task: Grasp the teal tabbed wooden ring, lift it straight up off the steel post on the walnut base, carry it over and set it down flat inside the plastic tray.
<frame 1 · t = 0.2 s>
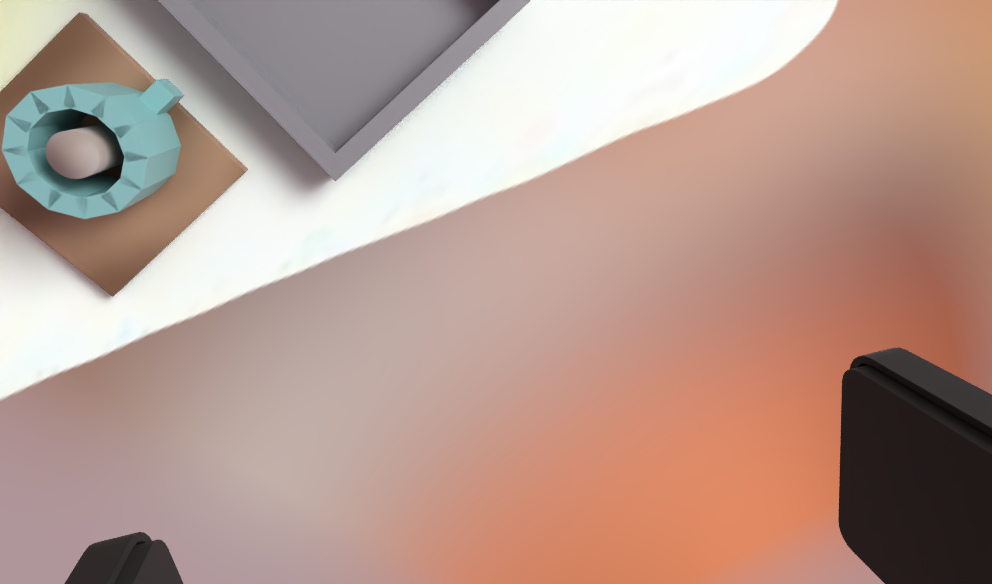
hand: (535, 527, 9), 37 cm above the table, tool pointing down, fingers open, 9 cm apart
ring: (120, 141, 39), point 1 cm above the table, touching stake
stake: (126, 140, 39), on the table
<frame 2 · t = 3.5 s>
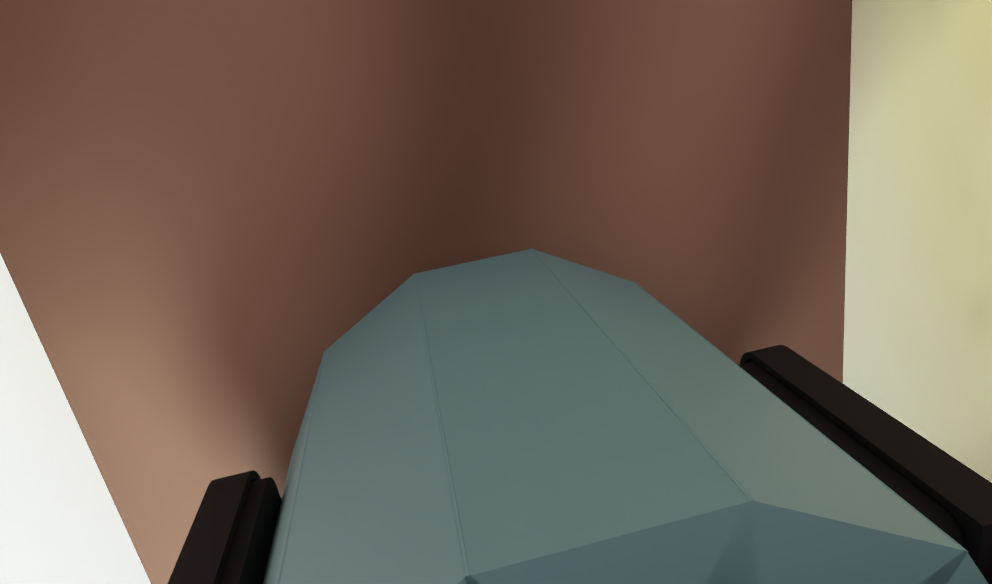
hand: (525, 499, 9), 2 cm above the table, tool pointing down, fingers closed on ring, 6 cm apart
ring: (508, 450, 10), point 1 cm above the table, touching gripper, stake
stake: (498, 419, 11), on the table
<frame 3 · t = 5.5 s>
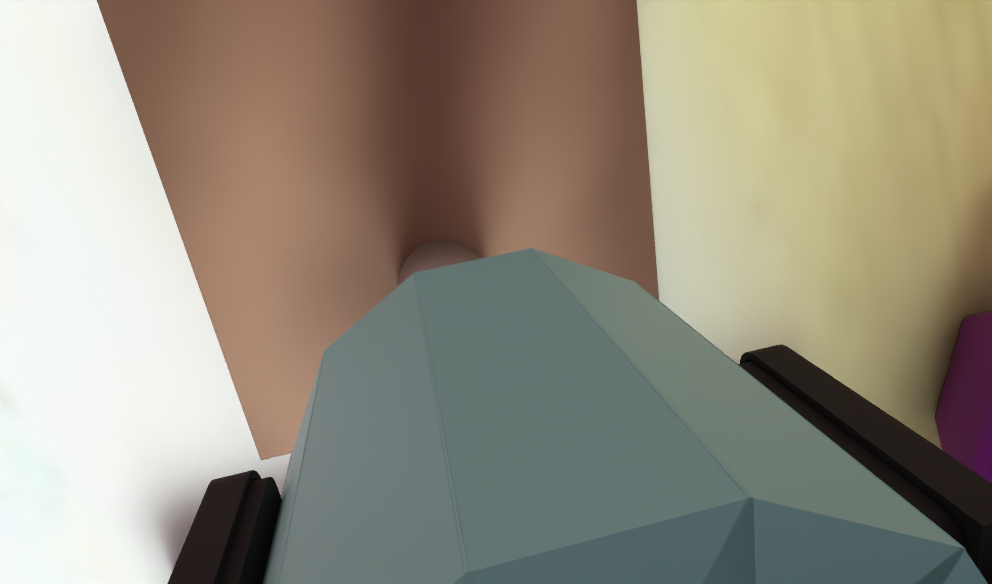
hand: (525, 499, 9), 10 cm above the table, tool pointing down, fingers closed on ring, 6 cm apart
ring: (508, 448, 11), point 8 cm above the table, touching gripper
perfume bottle: (991, 363, 23), on the table
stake: (439, 271, 18), on the table
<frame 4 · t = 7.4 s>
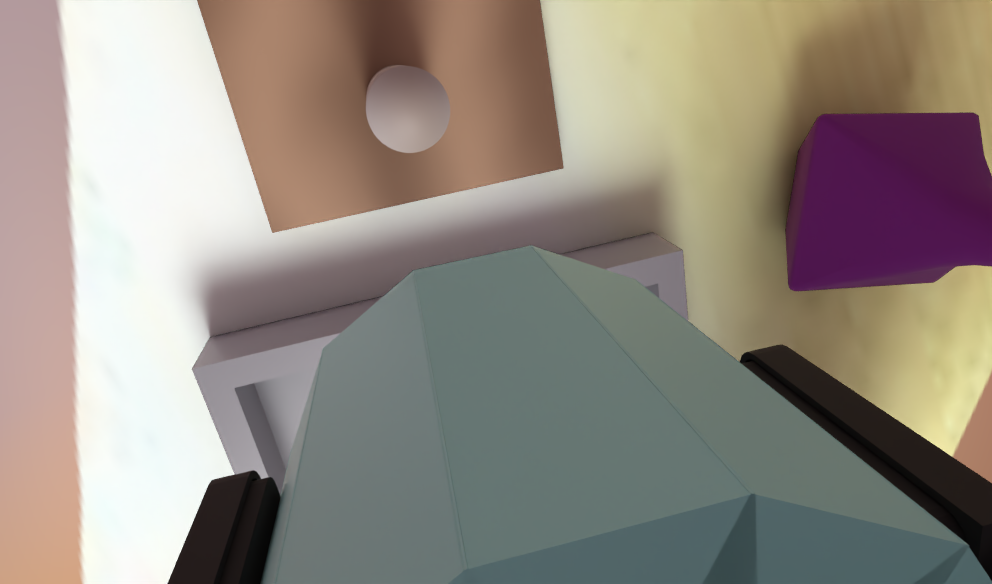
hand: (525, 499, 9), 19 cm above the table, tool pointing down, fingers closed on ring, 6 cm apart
ring: (508, 447, 10), point 18 cm above the table, touching gripper
tray: (474, 433, 31), on the table
perfume bottle: (828, 189, 30), on the table
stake: (397, 96, 25), on the table
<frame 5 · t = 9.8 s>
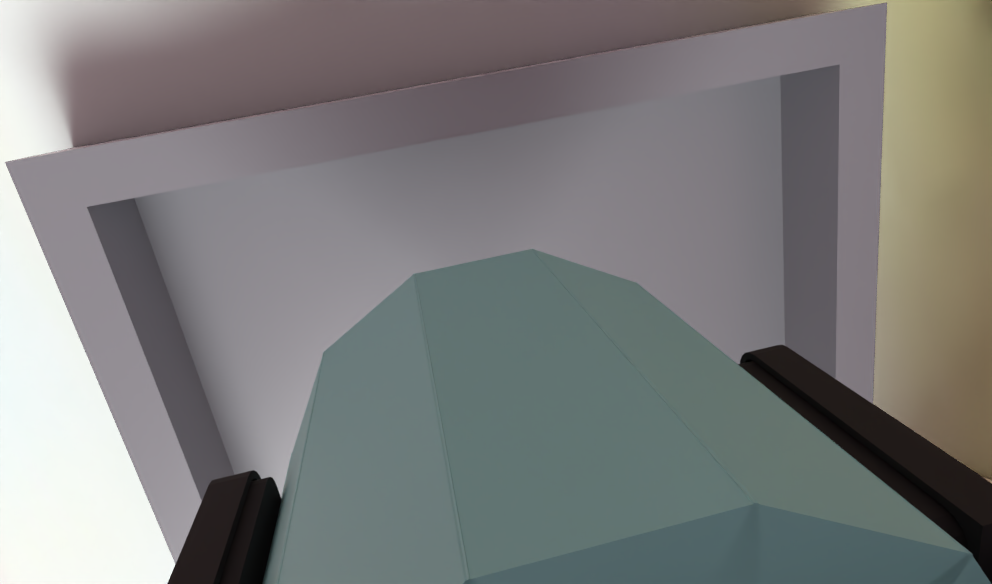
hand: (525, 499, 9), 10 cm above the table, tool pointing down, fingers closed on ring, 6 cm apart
ring: (509, 450, 10), point 9 cm above the table, touching gripper
tray: (509, 347, 20), on the table
when the fingers open (4 cm above the table, at t = 11.5 s): ring drops 2 cm, resting on tray.
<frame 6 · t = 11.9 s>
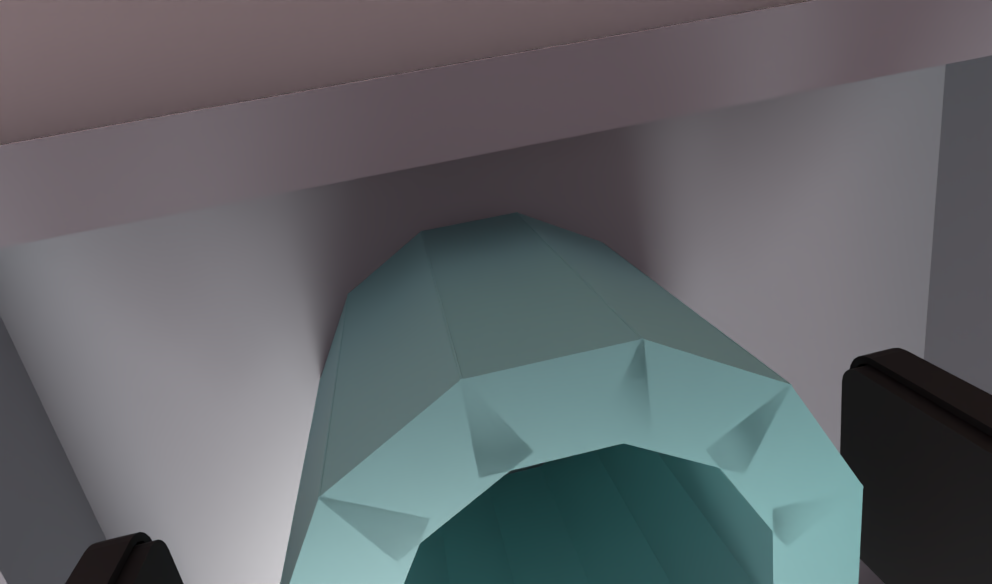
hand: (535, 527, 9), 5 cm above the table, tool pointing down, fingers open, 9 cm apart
ring: (497, 381, 13), resting on tray
tray: (542, 443, 14), on the table
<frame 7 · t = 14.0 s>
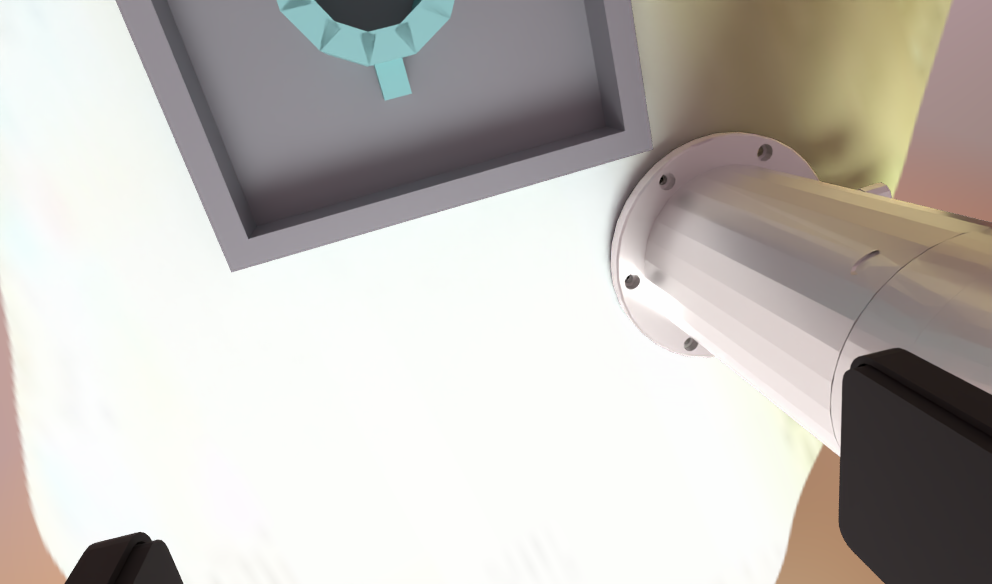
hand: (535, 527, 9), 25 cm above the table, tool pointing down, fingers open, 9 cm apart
tray: (394, 28, 29), on the table
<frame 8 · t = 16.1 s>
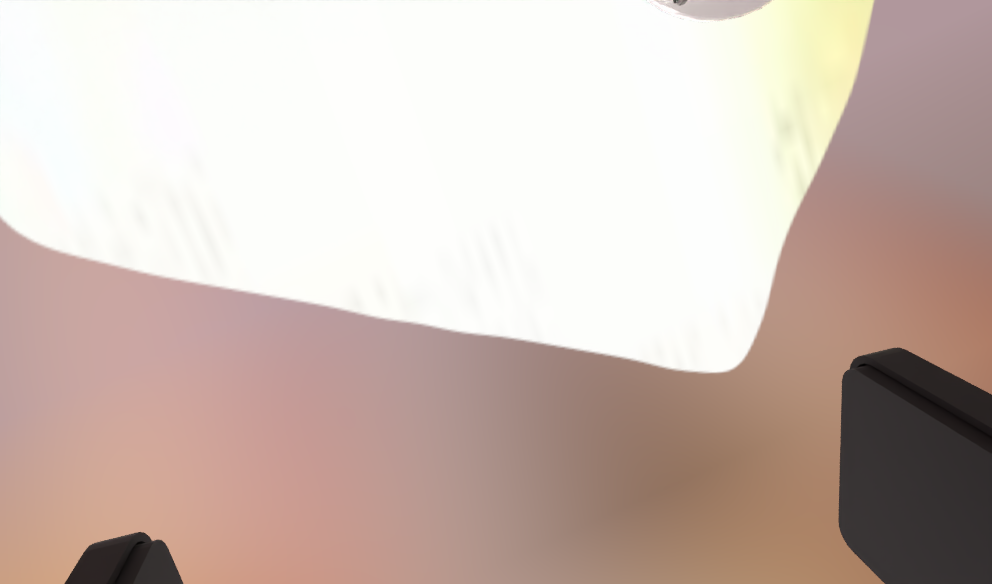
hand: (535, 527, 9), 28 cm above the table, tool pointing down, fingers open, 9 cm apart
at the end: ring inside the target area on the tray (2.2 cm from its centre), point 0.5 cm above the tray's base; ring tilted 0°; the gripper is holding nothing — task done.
